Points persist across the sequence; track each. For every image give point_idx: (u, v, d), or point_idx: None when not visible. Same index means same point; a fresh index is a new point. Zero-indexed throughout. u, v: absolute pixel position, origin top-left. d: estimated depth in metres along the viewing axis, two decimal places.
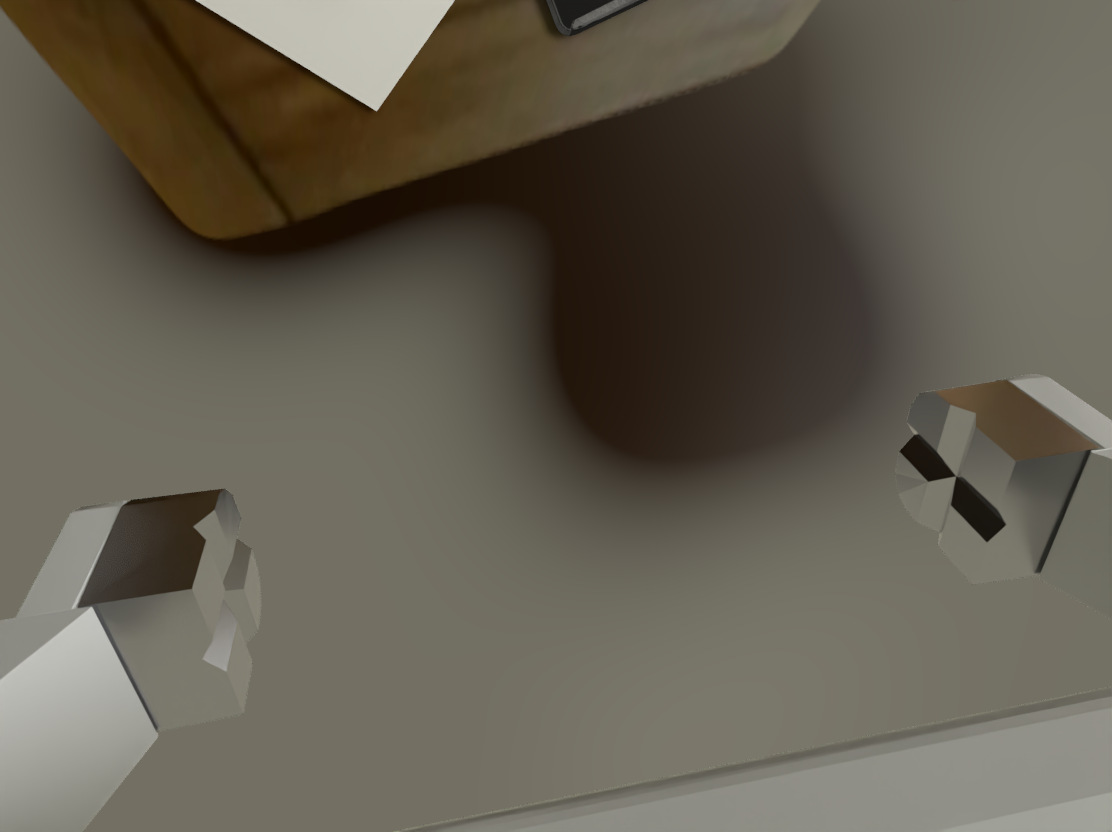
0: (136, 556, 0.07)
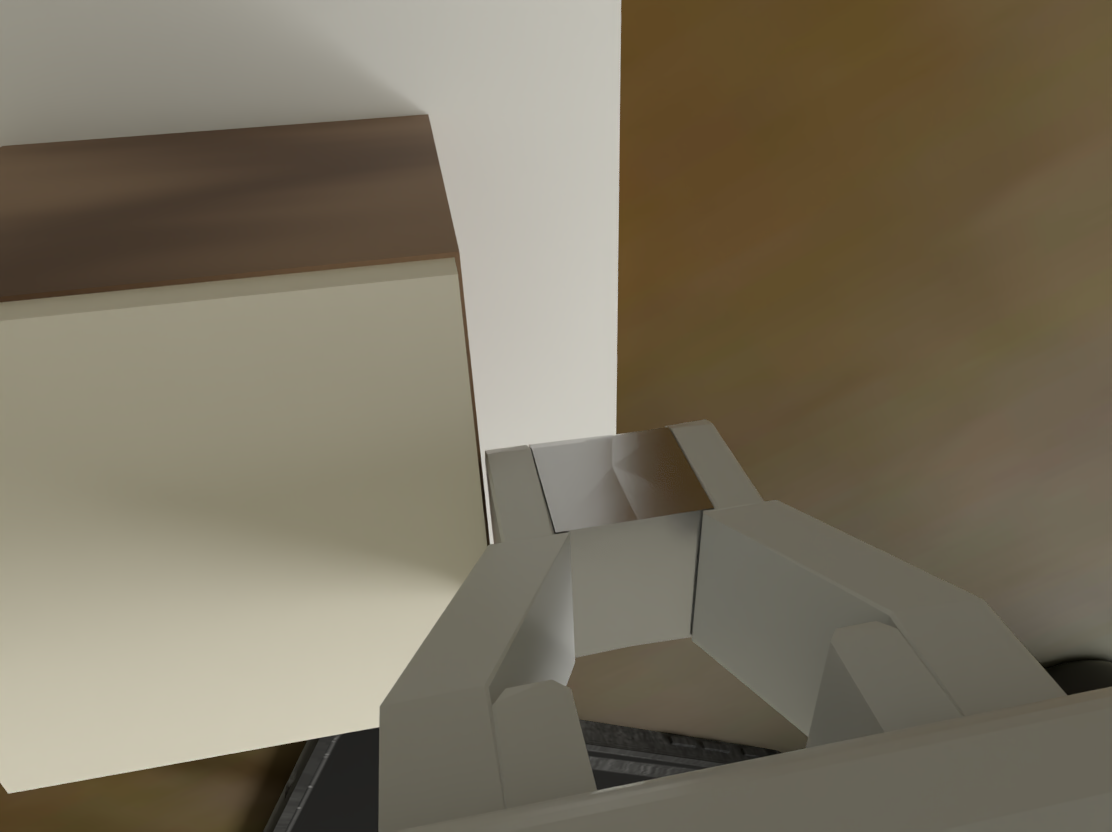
0: (579, 490, 0.08)
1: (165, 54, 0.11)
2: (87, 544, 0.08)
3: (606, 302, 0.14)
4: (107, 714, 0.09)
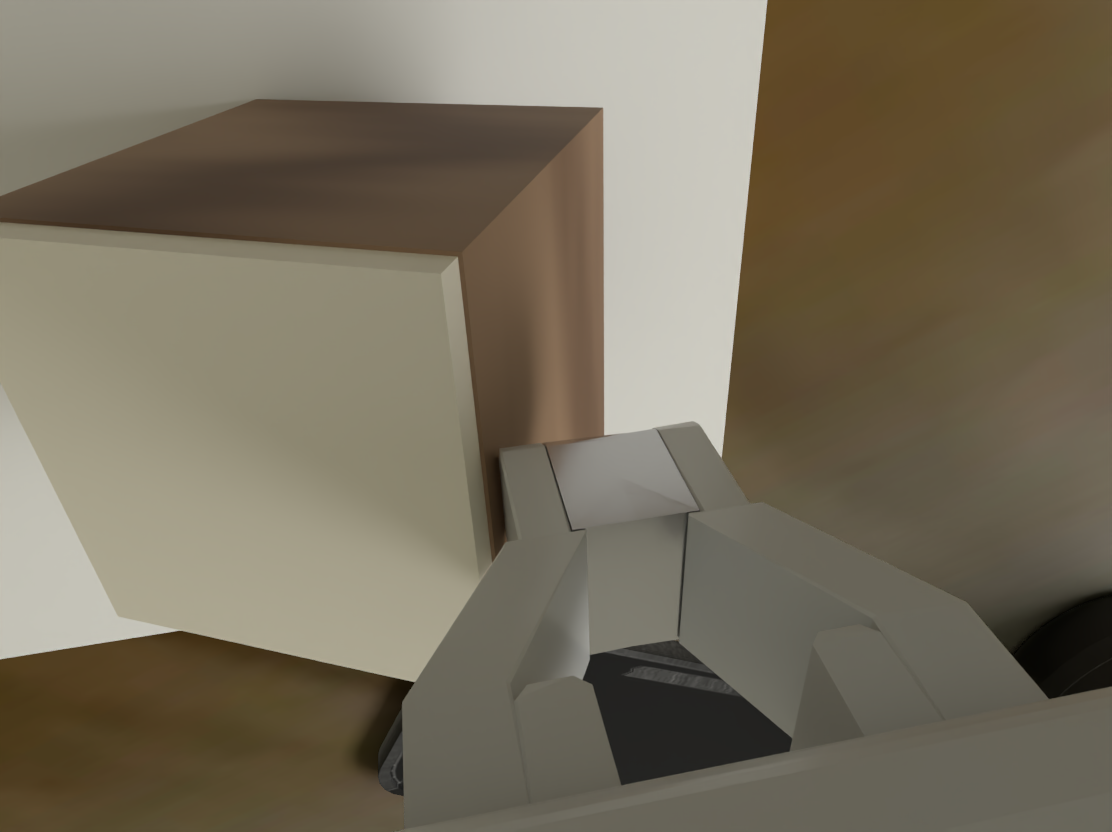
0: (594, 488, 0.08)
1: (396, 21, 0.13)
2: (159, 439, 0.09)
3: (733, 242, 0.16)
4: (179, 581, 0.11)
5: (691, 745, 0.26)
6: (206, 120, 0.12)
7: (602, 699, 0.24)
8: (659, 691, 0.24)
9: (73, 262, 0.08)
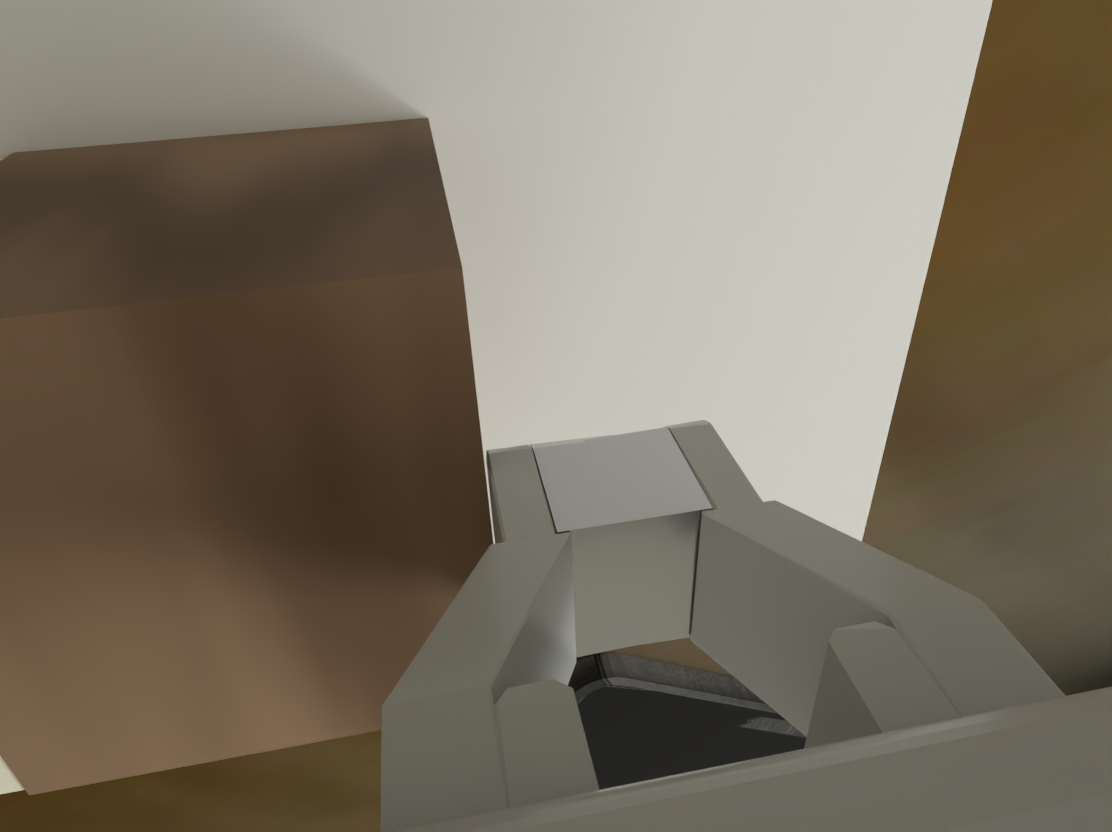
0: (580, 490, 0.08)
1: (592, 31, 0.12)
2: None
3: (917, 272, 0.15)
4: None
5: None
6: (327, 128, 0.11)
7: (715, 751, 0.22)
8: (774, 742, 0.23)
9: None
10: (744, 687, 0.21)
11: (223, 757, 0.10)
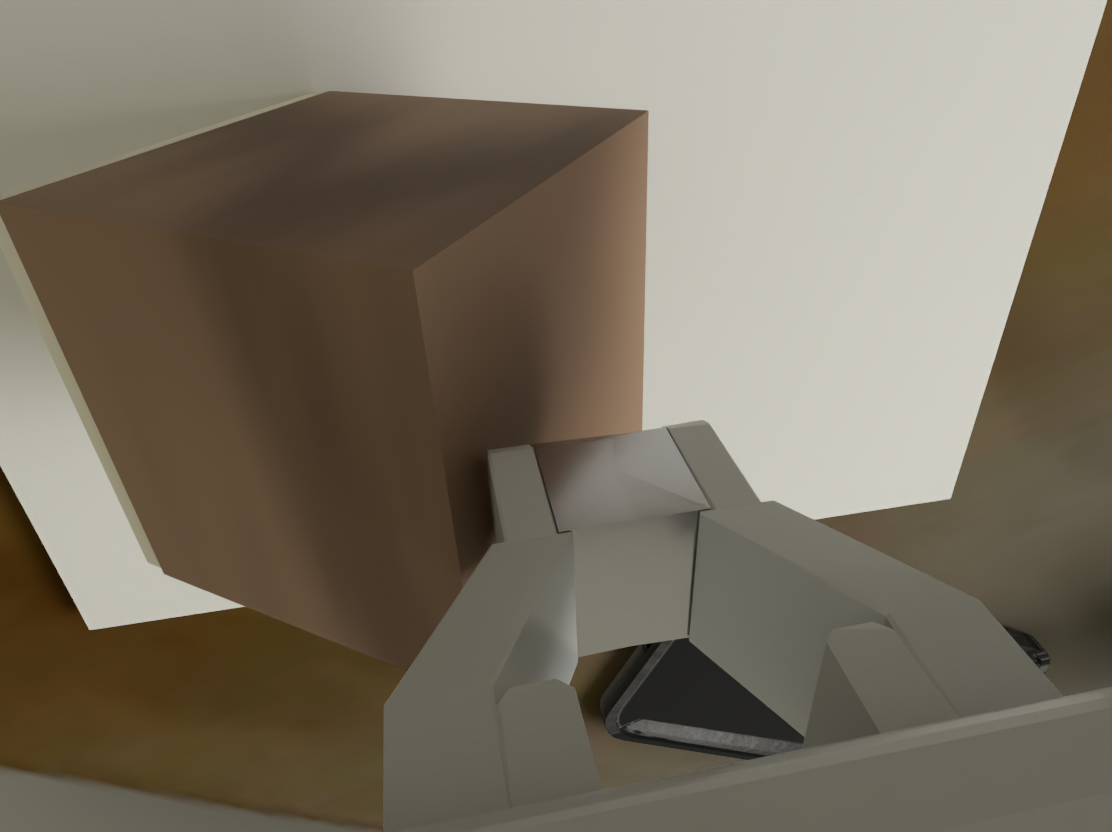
0: (582, 490, 0.08)
1: None
2: None
3: (1035, 202, 0.17)
4: None
5: None
6: (553, 106, 0.12)
7: None
8: None
9: None
10: None
11: (272, 615, 0.12)
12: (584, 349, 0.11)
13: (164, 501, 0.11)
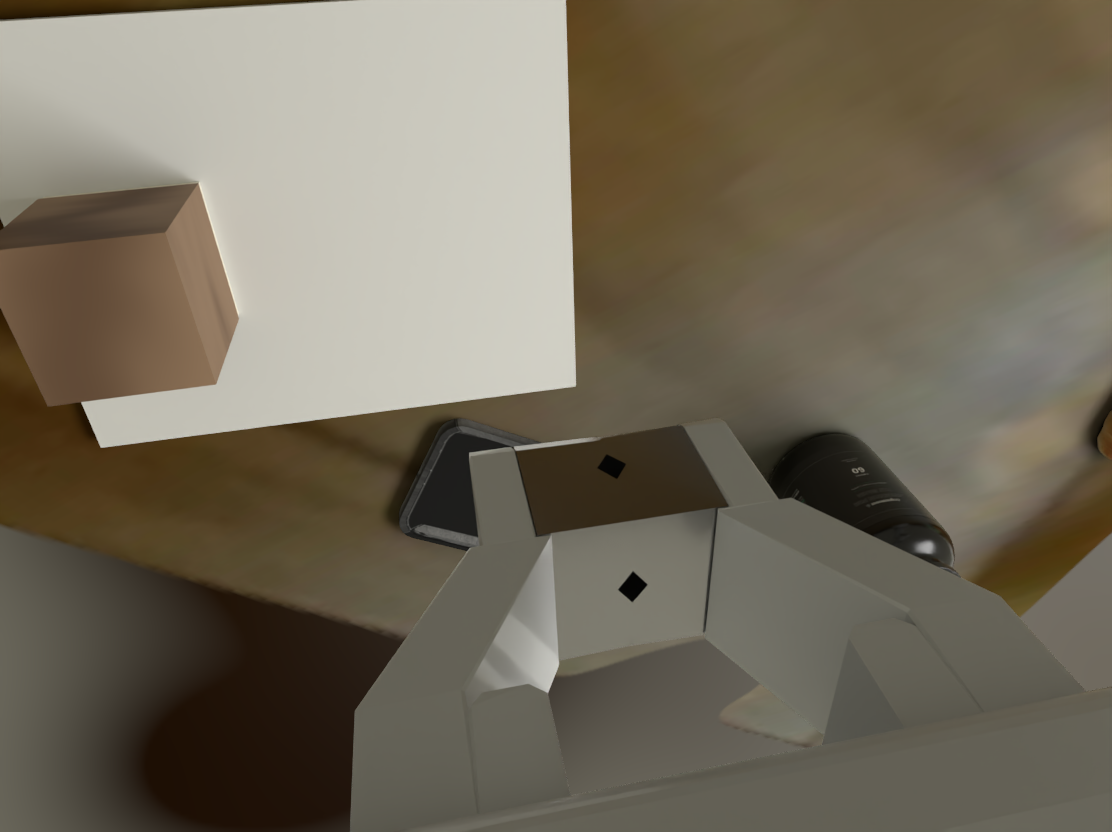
0: (562, 493, 0.08)
1: (413, 134, 0.32)
2: None
3: (567, 225, 0.35)
4: None
5: None
6: (172, 218, 0.28)
7: None
8: None
9: None
10: (535, 443, 0.42)
11: None
12: (117, 312, 0.28)
13: None
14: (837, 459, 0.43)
